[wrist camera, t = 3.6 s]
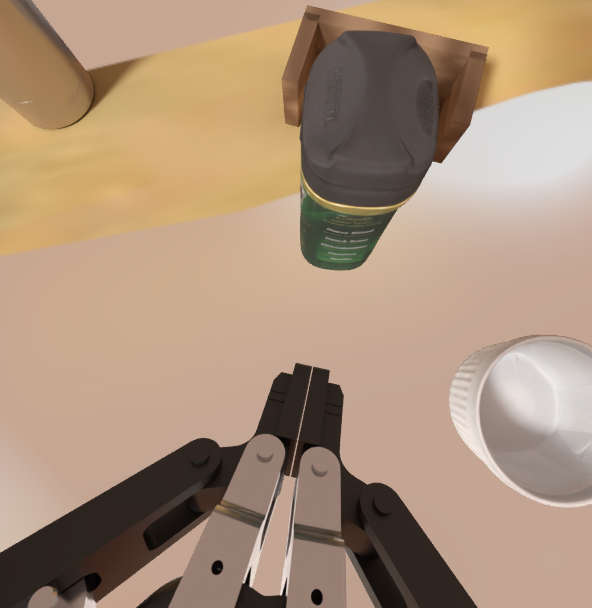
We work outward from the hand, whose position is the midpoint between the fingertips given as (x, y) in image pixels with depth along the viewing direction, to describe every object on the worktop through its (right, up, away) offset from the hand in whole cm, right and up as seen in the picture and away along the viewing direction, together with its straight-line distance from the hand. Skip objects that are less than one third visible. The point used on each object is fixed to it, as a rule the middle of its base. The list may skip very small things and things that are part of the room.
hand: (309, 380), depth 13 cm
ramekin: (+20, -7, +18) cm, 28 cm away
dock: (+8, +26, +23) cm, 35 cm away
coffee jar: (+4, +12, +21) cm, 24 cm away
